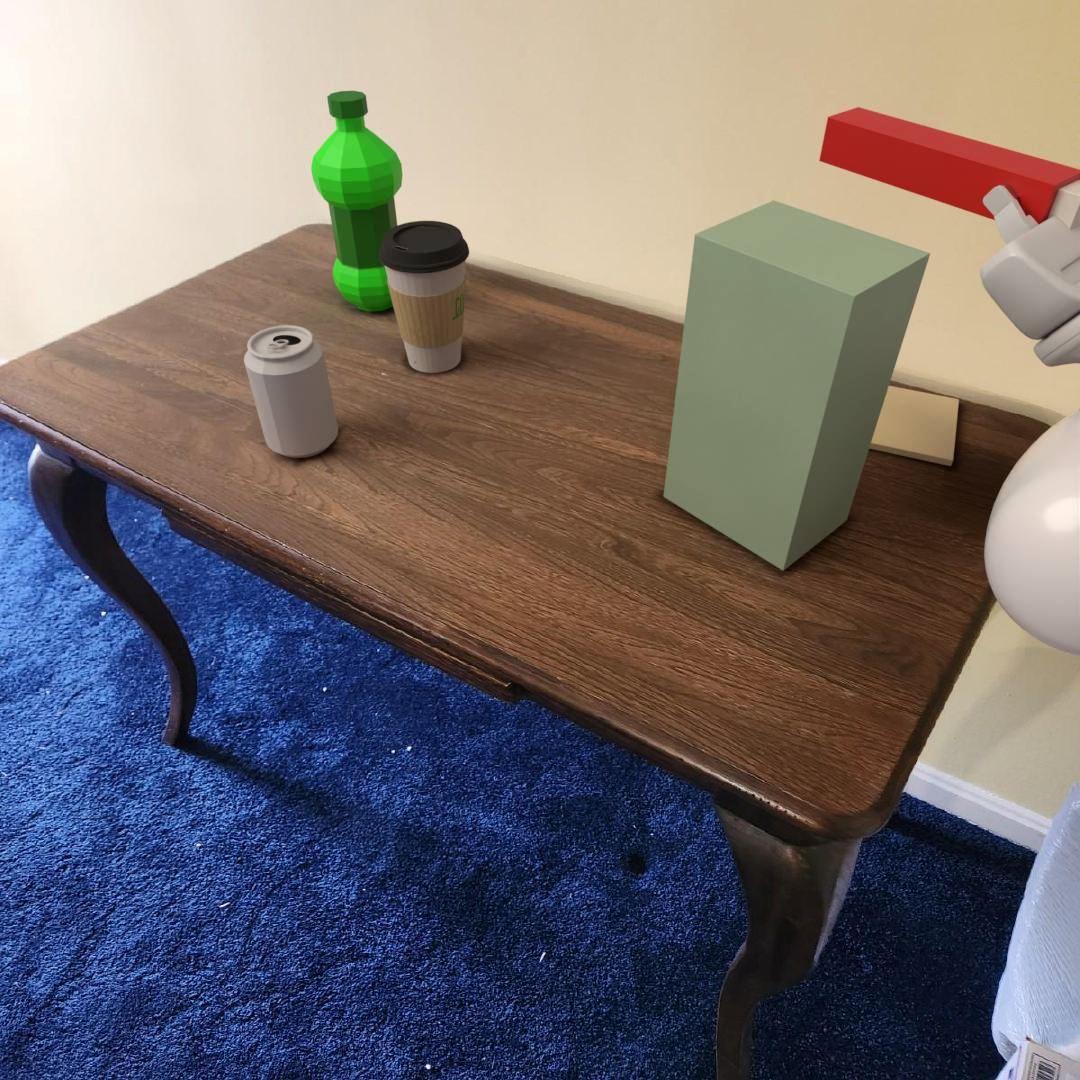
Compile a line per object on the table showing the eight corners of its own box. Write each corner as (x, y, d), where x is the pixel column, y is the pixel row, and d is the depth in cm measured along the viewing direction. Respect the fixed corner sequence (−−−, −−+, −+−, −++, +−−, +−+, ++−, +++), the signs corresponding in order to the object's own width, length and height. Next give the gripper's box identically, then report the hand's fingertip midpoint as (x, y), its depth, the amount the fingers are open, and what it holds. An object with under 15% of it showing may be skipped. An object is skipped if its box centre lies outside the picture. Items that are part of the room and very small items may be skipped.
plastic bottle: (399, 278, 118) (375, 78, 101) (425, 311, 111) (404, 102, 94) (327, 293, 115) (291, 89, 98) (350, 327, 108) (314, 115, 91)
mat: (956, 405, 95) (959, 399, 94) (950, 466, 86) (953, 460, 86) (775, 369, 100) (776, 363, 100) (753, 423, 92) (754, 417, 92)
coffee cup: (492, 352, 103) (486, 230, 93) (442, 390, 97) (430, 263, 87) (427, 331, 107) (415, 211, 97) (376, 366, 101) (357, 242, 91)
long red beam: (1089, 227, 70) (1110, 177, 68) (1060, 242, 68) (1081, 192, 66) (848, 150, 84) (858, 106, 82) (818, 161, 82) (827, 116, 80)
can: (352, 428, 92) (333, 326, 84) (317, 468, 87) (293, 364, 79) (291, 415, 94) (267, 314, 86) (252, 454, 88) (223, 351, 80)
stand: (846, 520, 80) (930, 253, 63) (783, 571, 75) (855, 296, 58) (728, 454, 88) (773, 200, 71) (663, 496, 83) (694, 234, 66)
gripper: (1206, 244, 72) (1094, 123, 74) (1107, 324, 62) (981, 182, 64) (1136, 292, 77) (1034, 179, 79) (1034, 374, 67) (920, 241, 69)
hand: (1009, 181), depth 71 cm, fingers closed on long red beam, 4 cm apart
